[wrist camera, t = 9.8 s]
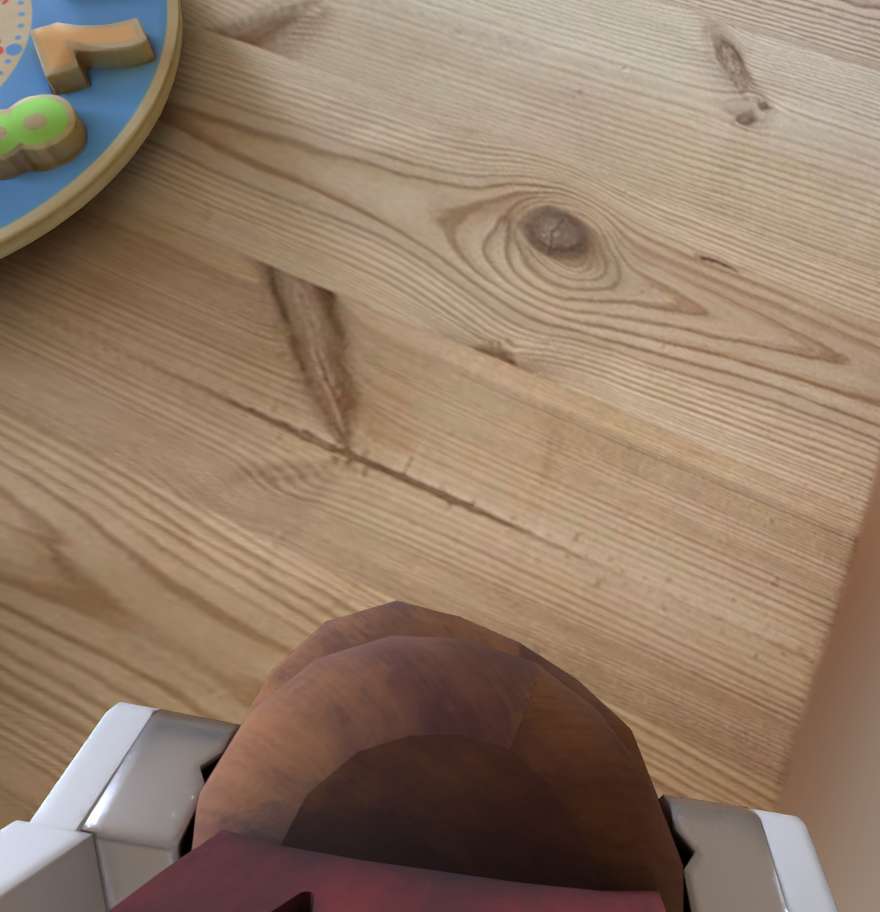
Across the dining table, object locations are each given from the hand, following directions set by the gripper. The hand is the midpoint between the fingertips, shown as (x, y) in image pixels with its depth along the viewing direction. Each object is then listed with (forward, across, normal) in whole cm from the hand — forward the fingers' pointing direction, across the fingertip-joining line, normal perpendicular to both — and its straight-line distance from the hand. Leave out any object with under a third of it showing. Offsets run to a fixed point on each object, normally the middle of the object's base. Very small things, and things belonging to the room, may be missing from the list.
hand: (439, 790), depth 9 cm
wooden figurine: (+6, 0, +6) cm, 9 cm away
